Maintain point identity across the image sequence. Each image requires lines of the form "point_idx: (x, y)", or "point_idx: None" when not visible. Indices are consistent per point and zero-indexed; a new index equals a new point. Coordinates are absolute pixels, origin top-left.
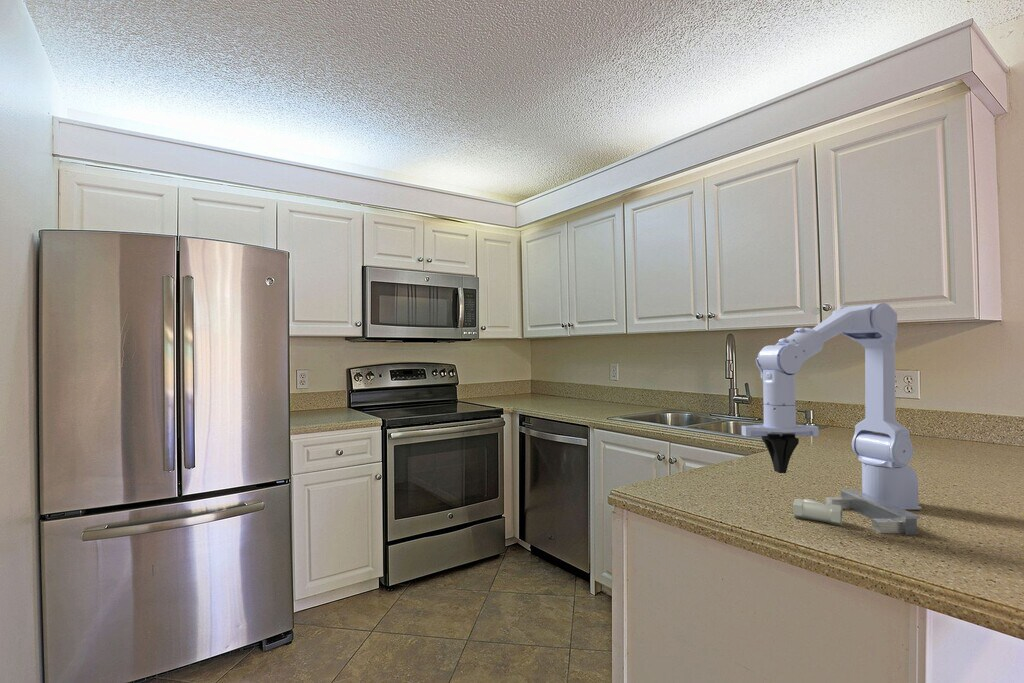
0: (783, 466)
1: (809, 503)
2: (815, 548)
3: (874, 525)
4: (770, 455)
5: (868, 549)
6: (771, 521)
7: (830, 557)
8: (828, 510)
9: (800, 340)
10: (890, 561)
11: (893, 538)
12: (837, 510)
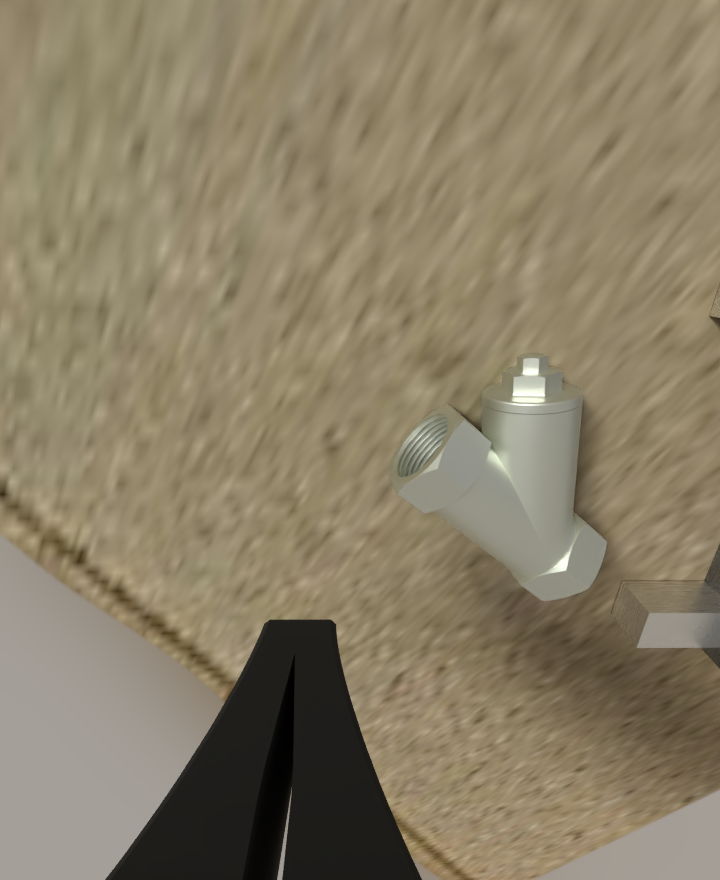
0: (292, 774)
1: (476, 518)
2: None
3: (631, 605)
4: (182, 781)
5: (445, 717)
6: (257, 489)
7: None
8: (516, 571)
9: None
10: (437, 773)
11: (611, 649)
12: (547, 592)
